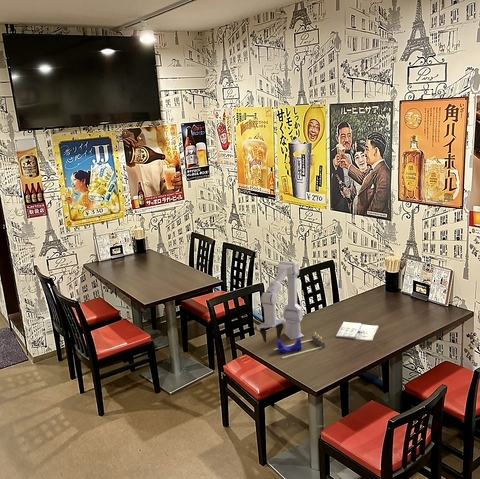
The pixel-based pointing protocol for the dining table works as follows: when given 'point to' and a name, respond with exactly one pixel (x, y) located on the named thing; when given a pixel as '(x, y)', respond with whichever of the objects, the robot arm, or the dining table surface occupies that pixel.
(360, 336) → the open book
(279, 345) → the cable clip
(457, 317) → the dining table surface
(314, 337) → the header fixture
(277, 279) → the robot arm
